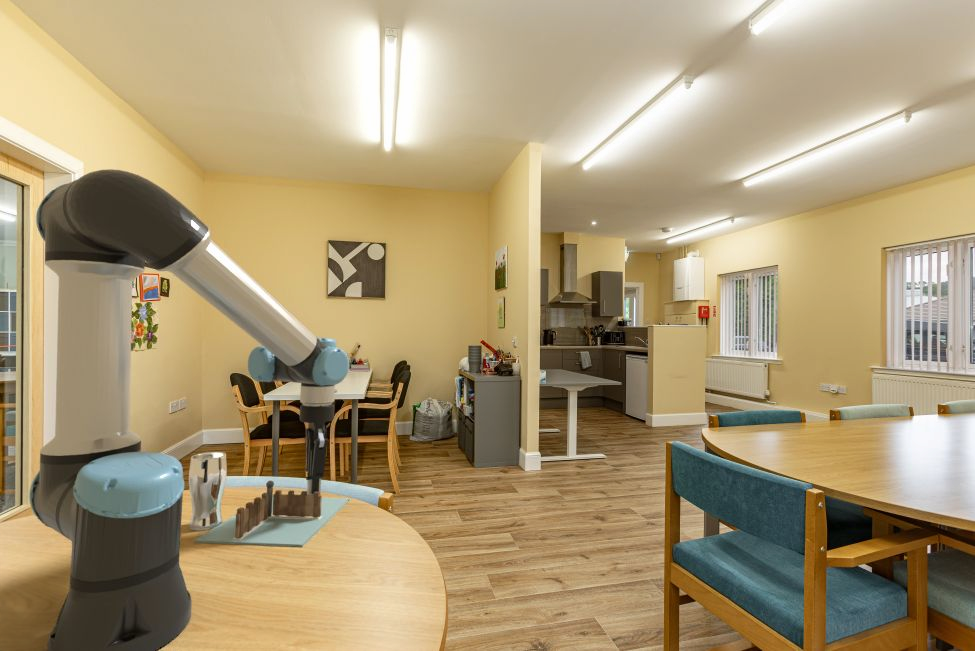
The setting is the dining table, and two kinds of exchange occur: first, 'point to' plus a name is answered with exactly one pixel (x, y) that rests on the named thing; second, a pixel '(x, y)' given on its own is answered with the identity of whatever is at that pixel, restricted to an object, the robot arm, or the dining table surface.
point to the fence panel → (297, 504)
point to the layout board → (276, 528)
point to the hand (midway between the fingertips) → (313, 506)
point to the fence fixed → (254, 512)
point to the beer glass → (207, 489)
